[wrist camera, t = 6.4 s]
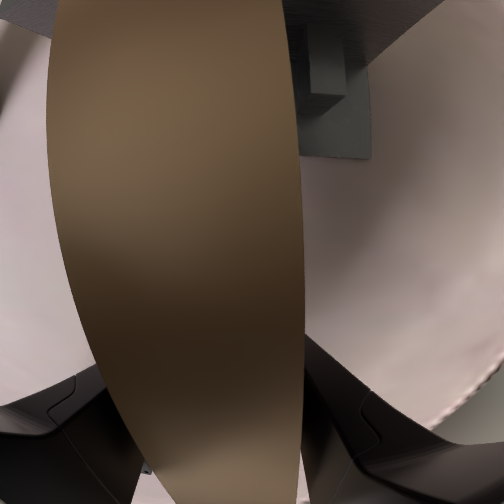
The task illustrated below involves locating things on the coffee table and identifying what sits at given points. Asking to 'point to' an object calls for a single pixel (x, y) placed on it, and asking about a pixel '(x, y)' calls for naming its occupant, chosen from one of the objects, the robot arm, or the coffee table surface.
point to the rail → (186, 232)
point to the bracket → (310, 62)
